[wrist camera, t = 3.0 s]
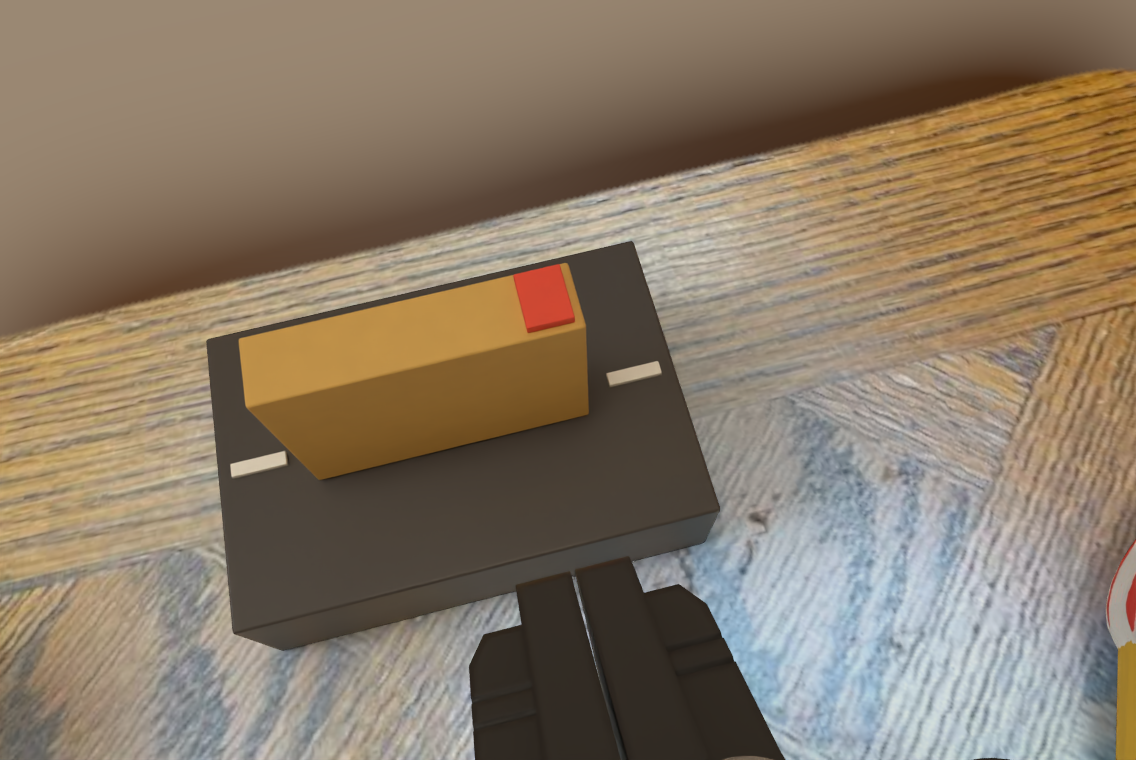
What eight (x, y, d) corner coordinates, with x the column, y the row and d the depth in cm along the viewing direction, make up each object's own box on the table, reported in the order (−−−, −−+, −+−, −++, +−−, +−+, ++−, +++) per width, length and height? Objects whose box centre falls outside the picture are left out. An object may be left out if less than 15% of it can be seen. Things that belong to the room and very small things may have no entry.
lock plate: (281, 651, 24) (229, 633, 21) (251, 388, 27) (202, 336, 24) (705, 542, 25) (722, 508, 21) (629, 299, 28) (633, 236, 24)
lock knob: (318, 481, 22) (240, 403, 17) (310, 423, 23) (232, 332, 18) (589, 415, 23) (586, 321, 18) (574, 360, 23) (567, 254, 18)
